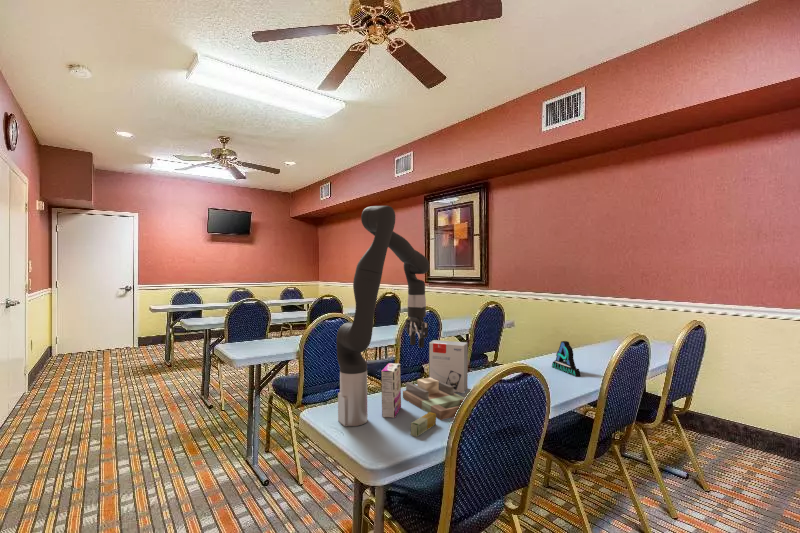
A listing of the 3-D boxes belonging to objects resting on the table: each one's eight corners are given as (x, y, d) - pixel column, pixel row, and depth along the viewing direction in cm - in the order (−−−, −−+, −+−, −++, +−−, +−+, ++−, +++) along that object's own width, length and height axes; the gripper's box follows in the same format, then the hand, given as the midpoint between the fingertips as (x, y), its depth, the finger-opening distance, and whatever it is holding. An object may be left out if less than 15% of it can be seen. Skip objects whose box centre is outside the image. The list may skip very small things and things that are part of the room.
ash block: (425, 395, 154) (425, 383, 154) (417, 390, 159) (417, 379, 159) (438, 392, 157) (438, 381, 157) (430, 388, 162) (430, 377, 162)
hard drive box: (428, 389, 171) (427, 342, 171) (433, 384, 178) (433, 339, 178) (464, 393, 165) (463, 345, 165) (468, 388, 172) (467, 341, 172)
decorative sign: (551, 367, 206) (551, 338, 206) (555, 367, 207) (555, 338, 207) (576, 377, 188) (575, 345, 188) (580, 376, 188) (580, 345, 188)
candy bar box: (388, 406, 150) (388, 362, 150) (401, 407, 149) (401, 363, 149) (380, 417, 139) (380, 370, 139) (395, 418, 138) (394, 371, 138)
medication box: (417, 437, 123) (417, 424, 123) (409, 435, 124) (410, 422, 124) (436, 424, 133) (436, 412, 133) (429, 423, 134) (429, 411, 134)
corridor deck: (440, 420, 136) (440, 402, 136) (402, 398, 159) (402, 383, 159) (477, 411, 144) (477, 394, 144) (436, 392, 167) (436, 377, 167)
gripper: (400, 304, 169) (400, 344, 169) (418, 307, 157) (418, 350, 157) (415, 303, 173) (415, 342, 173) (434, 306, 160) (434, 348, 160)
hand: (417, 346), depth 165 cm, fingers open, 6 cm apart
